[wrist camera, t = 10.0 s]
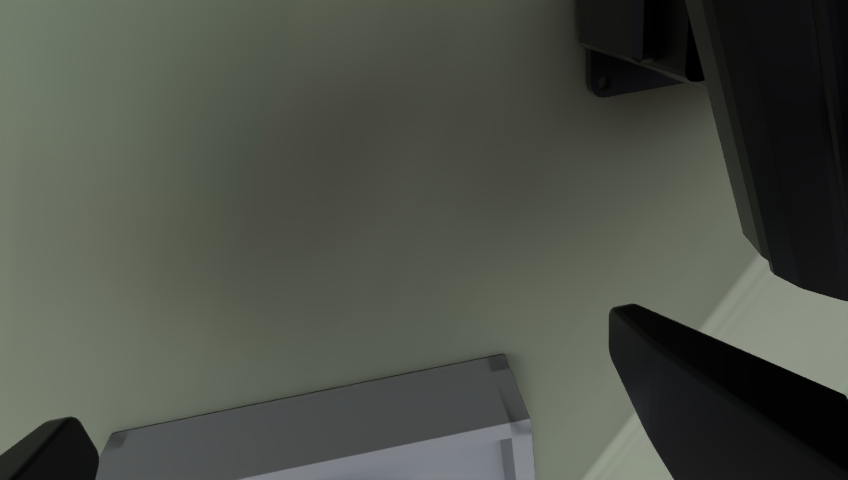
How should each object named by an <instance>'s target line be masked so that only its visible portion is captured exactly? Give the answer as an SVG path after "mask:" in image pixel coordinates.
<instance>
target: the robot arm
mask: <svg viewBox="0 0 848 480" xmlns="http://www.w3.org/2000/svg"><path fill="white" fill-rule="evenodd" d="M578 12H579V42H580V43H581V44H582V45H583V46H584V47H586V79H587V88H588V90H589V91H590V93H592V94H594V95H596V96H598V97H609V96H615V95H620V94H626V93H631V92H637V91H642V90H647V89H653V88H658V87H664V86H669V85H675V84H680V83H688V84H691V85H694V86H697V87H700V88H703V89H706V90H708V94H709V98H710V102H711V106H712V110H713V114H714V118H715V122H716V126H717V130H718V134H719V138H720V142H721V146H722V150H723V154H724V158H725V162H726V166H727V170H728V174H729V178H730V182H731V186H732V190H733V194H734V198H735V202H736V206H737V210H738V214H739V218H740V222H741V226H742V230H743V234H744V235H745V236H746V237H747V239H748V240H749V241H750V242H751V244H752V245H753V246H754V247H755V248H756V250H757V251H758V252H759V253H760V255H761V256H762V257H764V258H765V259H767V260H768V261H769V266H770V270H771V271H772V272H773V273H774V275H776V276H778V277H780V278H782V279H784V280H786V281H788V282H790V283H792V284H794V285H796V286H798V287H800V288H802V289H805V290H809V291H812V292H816V293H819V294H823V295H826V296H829V297H833V298H836V299H840V300H844V301H848V0H578ZM603 76H606V77H607V83H606V85H605V86H604V87H602V88H598V81H599V79H600V78H601V77H603ZM609 352H610V356H611V359H612V361H613V363H614V365H615V368H616V370H617V372H618V374H619V376H620V378H621V380H622V383H623V385H624V387H625V389H626V391H627V393H628V395H629V397H630V400H631V402H632V404H633V406H634V408H635V410H636V412H637V415H638V417H639V419H640V421H641V423H642V425H643V427H644V429H645V431H646V433H647V435H648V437H649V439H650V441H651V442H652V444H653V446H654V448H655V449H656V451H657V453H658V454H659V456H660V457H661V459H662V461H663V462H664V464H665V466H666V467H667V469H668V471H669V472H670V474H671V475H672V477H673V479H674V480H848V399H847V397H846V396H845V395H844V394H842V393H839V392H837V391H835V390H833V389H830V388H828V387H826V386H823V385H821V384H819V383H816V382H814V381H812V380H810V379H807V378H805V377H803V376H800V375H798V374H796V373H793V372H791V371H789V370H787V369H784V368H782V367H780V366H777V365H775V364H773V363H770V362H768V361H766V360H764V359H761V358H759V357H757V356H754V355H752V354H750V353H748V352H745V351H743V350H741V349H738V348H736V347H734V346H731V345H729V344H727V343H725V342H722V341H720V340H718V339H715V338H713V337H711V336H708V335H706V334H704V333H702V332H699V331H697V330H695V329H692V328H690V327H688V326H685V325H683V324H681V323H679V322H676V321H674V320H672V319H669V318H667V317H665V316H662V315H660V314H658V313H656V312H653V311H651V310H649V309H646V308H644V307H642V306H640V305H637V304H627V305H622V306H617V307H613V308H612V309H611V310H610V313H609ZM98 467H99V455H98V452H97V449H96V447H95V446H94V444H93V442H92V441H91V439H90V437H89V436H88V434H87V432H86V431H85V429H84V427H83V426H82V424H81V422H80V421H79V420H78V419H77V418H75V417H65V418H60V419H55V420H50V421H47V422H45V423H43V424H42V425H41V426H39V427H38V428H37V429H35V430H34V431H33V432H31V433H30V434H28V435H27V436H26V437H24V438H23V439H22V440H20V441H19V442H18V443H16V444H15V445H14V446H12V447H11V448H10V449H8V450H7V451H6V452H4V453H3V454H2V455H0V480H95V479H96V475H97V471H98Z"/></svg>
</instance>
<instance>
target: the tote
mask: <svg viewBox="0 0 848 480" xmlns="http://www.w3.org/2000/svg"><path fill="white" fill-rule="evenodd" d="M95 480H535V470H534V458H533V446H532V434H531V423H530V417H529V415H528V412H527V410H526V407H525V405H524V402H523V400H522V397H521V395H520V392H519V390H518V387H517V385H516V383H515V380H514V378H513V375H512V373H511V370H510V368H509V365H508V363H507V360H506V358H505V355H504V354H502V355H497V356H492V357H487V358H482V359H477V360H473V361H468V362H463V363H458V364H453V365H448V366H443V367H438V368H433V369H428V370H423V371H418V372H413V373H408V374H403V375H399V376H394V377H389V378H384V379H379V380H374V381H369V382H364V383H359V384H354V385H349V386H344V387H339V388H334V389H330V390H325V391H320V392H315V393H310V394H305V395H300V396H295V397H290V398H285V399H280V400H275V401H270V402H265V403H260V404H256V405H251V406H246V407H241V408H236V409H231V410H226V411H221V412H216V413H211V414H206V415H201V416H196V417H191V418H187V419H182V420H177V421H172V422H167V423H162V424H157V425H152V426H147V427H142V428H137V429H132V430H127V431H122V432H117V433H113V434H111V436H110V438H109V440H108V442H107V444H106V446H105V448H104V450H103V452H102V454H101V456H100V458H99V467H98V471H97V475H96V479H95Z"/></svg>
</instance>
